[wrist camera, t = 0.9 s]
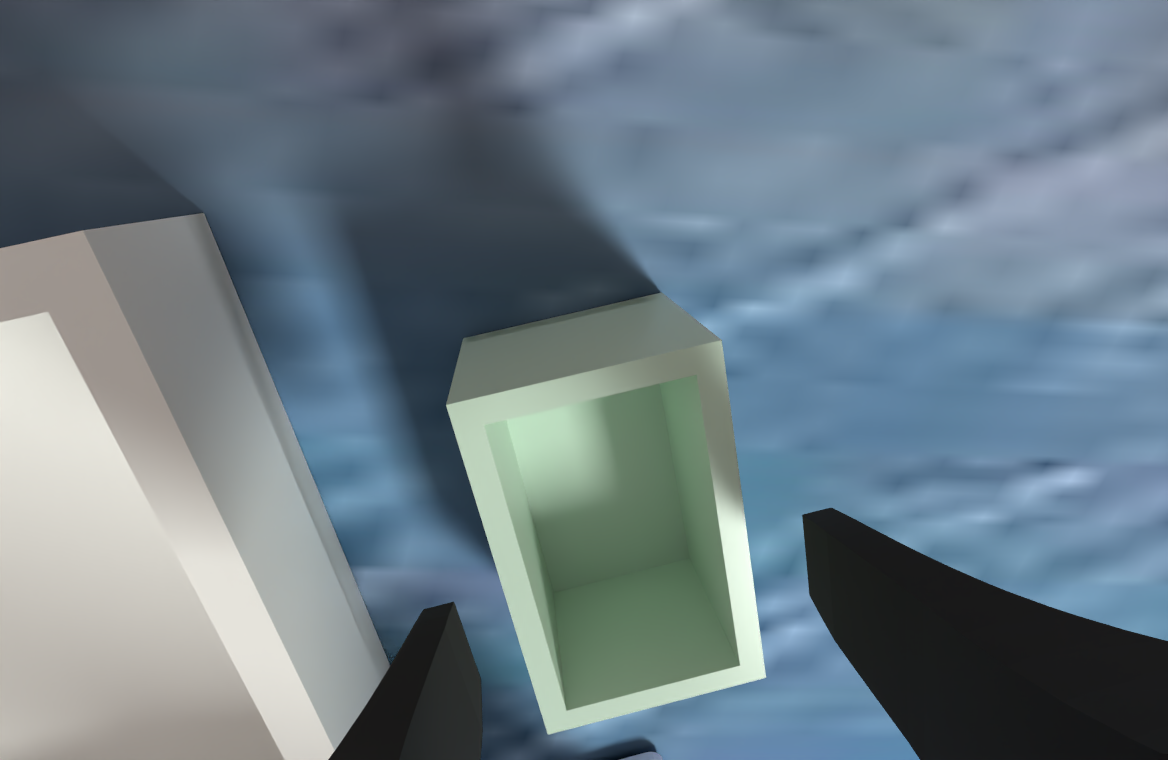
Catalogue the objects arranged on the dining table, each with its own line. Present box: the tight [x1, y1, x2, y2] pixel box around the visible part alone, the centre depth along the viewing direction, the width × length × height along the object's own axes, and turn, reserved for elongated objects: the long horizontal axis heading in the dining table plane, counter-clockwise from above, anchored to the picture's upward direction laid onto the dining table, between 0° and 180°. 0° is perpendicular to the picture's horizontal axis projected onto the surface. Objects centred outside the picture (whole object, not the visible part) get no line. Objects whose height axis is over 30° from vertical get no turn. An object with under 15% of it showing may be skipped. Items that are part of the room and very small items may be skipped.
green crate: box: [446, 292, 766, 735], centre depth 16 cm, size 9×6×5 cm, turn 12°
